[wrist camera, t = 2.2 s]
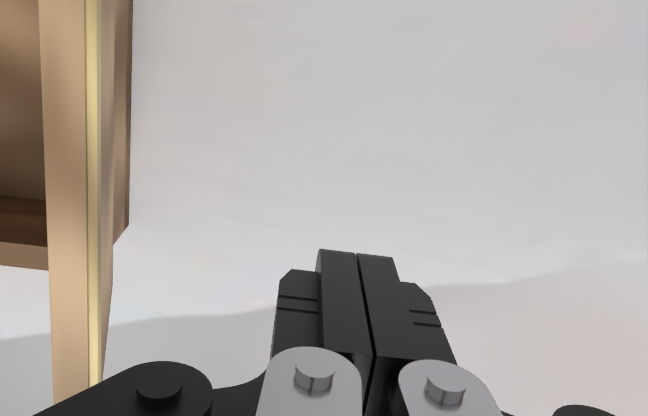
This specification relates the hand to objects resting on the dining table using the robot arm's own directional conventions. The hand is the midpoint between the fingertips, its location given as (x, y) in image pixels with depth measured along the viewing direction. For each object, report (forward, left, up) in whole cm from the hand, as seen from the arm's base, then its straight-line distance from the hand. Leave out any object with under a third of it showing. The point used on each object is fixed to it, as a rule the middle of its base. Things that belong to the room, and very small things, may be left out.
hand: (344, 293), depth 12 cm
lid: (0, -8, -7) cm, 11 cm away
